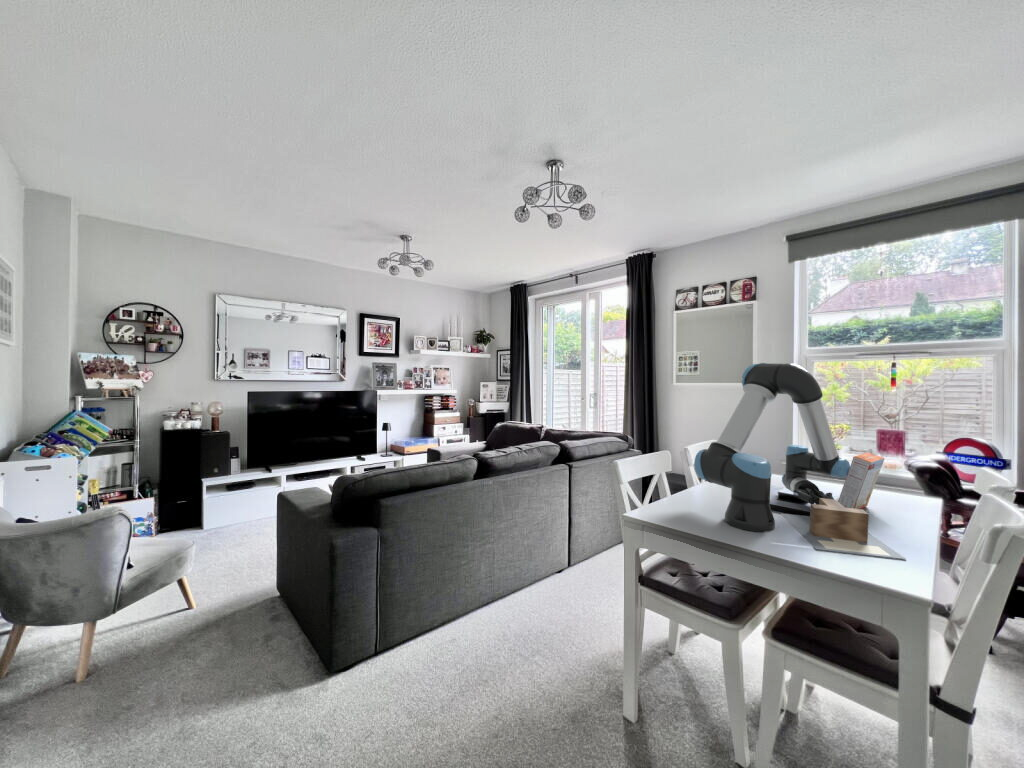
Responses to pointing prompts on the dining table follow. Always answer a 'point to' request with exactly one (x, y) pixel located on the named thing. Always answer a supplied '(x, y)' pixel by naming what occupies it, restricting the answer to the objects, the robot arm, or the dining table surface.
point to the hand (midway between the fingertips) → (831, 508)
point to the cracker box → (860, 480)
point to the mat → (841, 541)
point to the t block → (838, 521)
